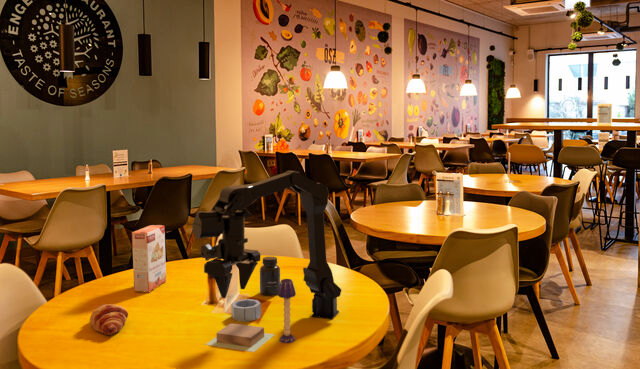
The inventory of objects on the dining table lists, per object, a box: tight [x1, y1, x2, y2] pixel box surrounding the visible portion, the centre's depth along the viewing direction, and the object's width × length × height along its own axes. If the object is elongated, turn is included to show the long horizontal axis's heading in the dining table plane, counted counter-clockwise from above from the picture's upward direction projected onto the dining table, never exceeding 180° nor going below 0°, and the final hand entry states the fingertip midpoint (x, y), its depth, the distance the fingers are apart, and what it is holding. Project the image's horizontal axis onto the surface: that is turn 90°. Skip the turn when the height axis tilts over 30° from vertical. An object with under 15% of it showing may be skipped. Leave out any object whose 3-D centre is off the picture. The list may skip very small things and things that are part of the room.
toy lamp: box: [277, 278, 297, 344], centre depth 146 cm, size 5×5×17 cm
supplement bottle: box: [259, 256, 281, 297], centre depth 188 cm, size 7×7×12 cm
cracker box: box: [131, 224, 167, 293], centre depth 196 cm, size 14×6×21 cm, turn 171°
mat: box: [204, 332, 276, 353], centre depth 148 cm, size 14×12×1 cm
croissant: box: [89, 303, 129, 336], centre depth 160 cm, size 21×10×8 cm, turn 26°
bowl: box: [230, 298, 262, 322], centre depth 165 cm, size 8×8×4 cm
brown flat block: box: [216, 323, 265, 347], centre depth 147 cm, size 10×7×2 cm
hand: (233, 293), depth 148 cm, fingers open, 9 cm apart
